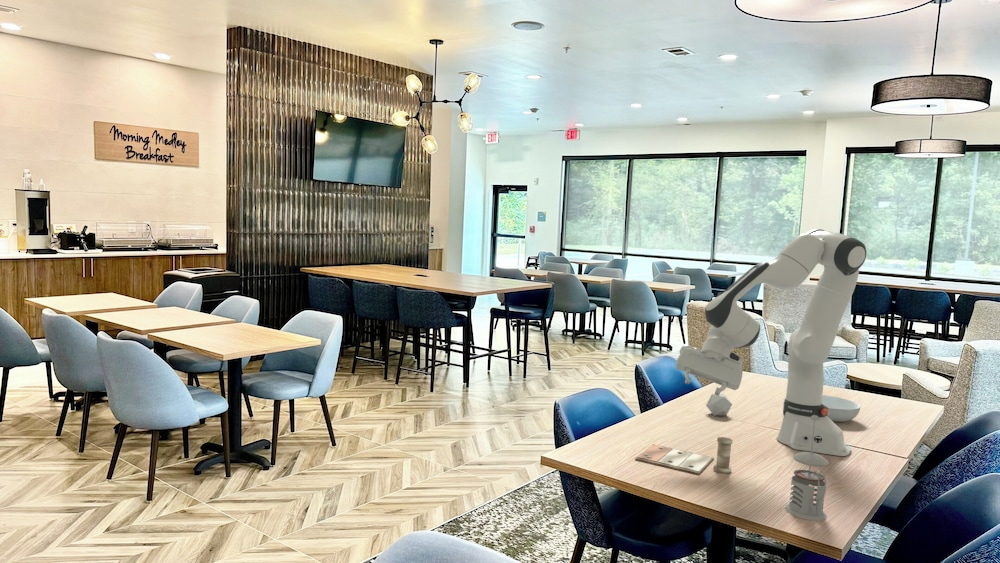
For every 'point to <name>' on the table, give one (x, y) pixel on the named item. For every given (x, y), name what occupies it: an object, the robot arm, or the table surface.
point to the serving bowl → (840, 408)
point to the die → (719, 405)
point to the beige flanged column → (723, 455)
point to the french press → (805, 493)
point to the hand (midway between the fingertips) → (701, 388)
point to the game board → (675, 459)
